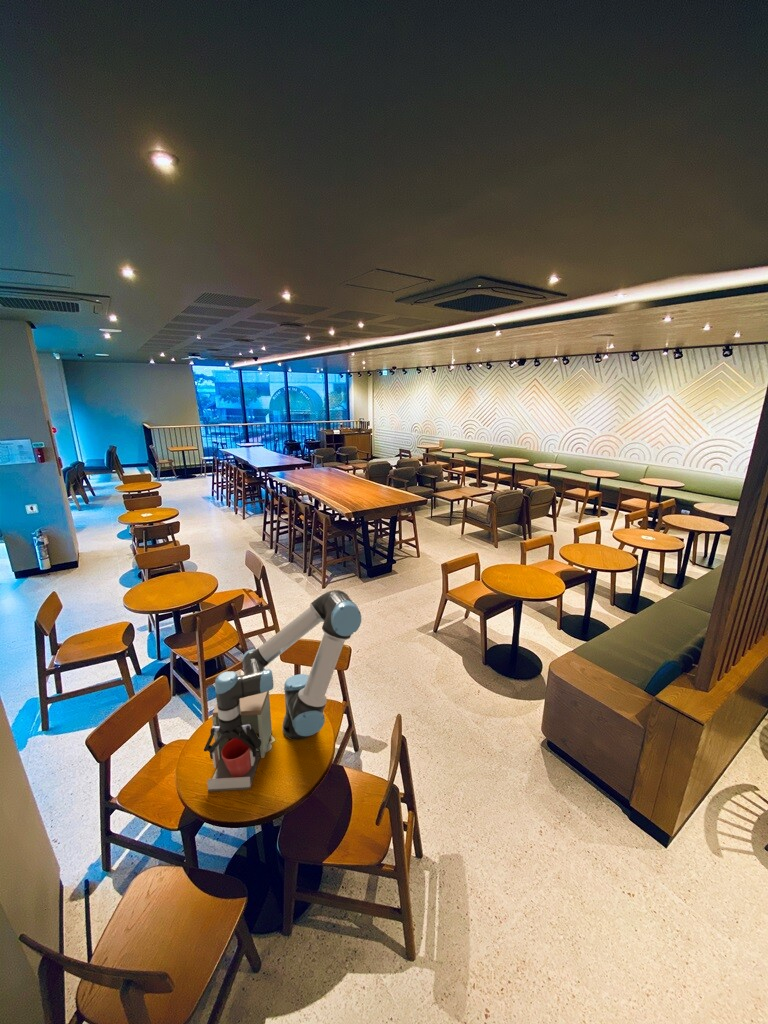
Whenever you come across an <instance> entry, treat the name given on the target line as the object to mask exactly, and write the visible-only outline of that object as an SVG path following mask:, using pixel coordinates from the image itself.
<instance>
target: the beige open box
mask: <svg viewBox="0 0 768 1024" xmlns="http://www.w3.org/2000/svg"><path fill="white" fill-rule="evenodd" d="M270 701H271V700H270V691H267V692H264V693H260V694H256V695H252V696H247V697H244V698H240V709H241V719H242V724H243V725H247V724H248V723H249V722H250V723H251V726H252V728H253V730H254V731H255V733H256V734H258V737H259V739H260V740H261V745H260V748H259V751H260V759H263V758H265V757H266V752H267V749H268V745H269V742H270V738H271V735H272V733H273V729H272V715H271V702H270ZM211 719H212V726H213V725H214V724H216V726H219V717H218V708H217V704H216V705H215V707H214V709H213V711H212V718H211ZM243 730H244V729H243ZM244 732H245V730H244ZM245 733H246V734H247V732H245ZM220 735H221V733H220V732H219V731H217V733H215V734H214V736H213V738H214V742H215V741H216V739H217V738H218V737H219V736H220ZM247 735H248V734H247ZM229 739H230V738H228V739H227V738H226V737H225V738H224V739H223V740H222V741H221V742H220V743H219V744H218V746H217V751H218V760H219V761H220V759H221V751H222V749H223V747H224V745H225V744H226V743H227V742H228V741H230V740H229Z"/></svg>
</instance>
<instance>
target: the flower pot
mask: <svg viewBox="0 0 768 1024" xmlns="http://www.w3.org/2000/svg"><path fill="white" fill-rule="evenodd" d="M250 750H251V749H250V748H249V747H248V746H247V745H246V744H245V743H244V742H243V741H241V740H239V739H237V738H230V740H228V742H227V743H226V744H225V745H224V747H223V749H222V751H221V755H222V758H223V760H224V762H225V764H226V767H227V769H228V771H229V772H230V774H231V776H233V777H242V776H244V775H245V774H247V773H248V771H249V770H250V769H251V759H250Z"/></svg>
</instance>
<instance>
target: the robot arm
mask: <svg viewBox="0 0 768 1024" xmlns="http://www.w3.org/2000/svg"><path fill="white" fill-rule="evenodd" d="M320 623H323V624H322V627H321V629H322V633H323V636H322V638H321V641H320V644H319V647H318V649H317V652H316V655H315V658H314V661H313V663H312V665H311V669H310V672H309V674H304V673H298V674H294V675H292V676H289V677H288V678H287V679H286V680H285V681H284V685H283V690H284V702H285V715H284V718H283V721H282V732H283V735H284V736H285V737H287V738H288V739H290V740H292V741H293V740H294V741H300V740H305V739H307V738H310V737H311V736H313V735H315V734H317V733H319V732H320V731H321V729H322V728H323V727H324V725H325V723H326V721H325V720H326V719H325V718H326V717H325V714H324V710H325V708H326V705H327V702H328V699H327V696H326V693H327V691H328V688H329V685H330V683H331V680H332V677H333V675H334V672H335V669H336V667H337V663H338V660H339V658H340V655H341V654H342V653H341V652H342V650H343V646H344V644H345V641H347V640H349V639H350V638H351V637H352V635H353V634H354V633H355V632H358V630H359V628H360V626H361V624H362V613H361V611H360V609H359V607H358V606H357V603H355V602H353V600H352V599H351V598H350V597H349V595H348V594H347V593H346V592H345V591H342V590H339V589H334V590H333V589H332V590H330V591H327V592H325V593H323V594H321V595H319V596H318V597H317V598H315V599H314V600H313V601H311V602H310V604H309V607H308V608H307V609H306V610H305V611H303V612H302V613H301V614H299V615H298V616H297V617H296V618H294V619H293V620H291V621H290V622H289V623H287V625H285V626H284V627H283V628H281V630H279V631H278V632H277V633H276V634H274V635H272V636H271V637H270V638H269V639H267V640H266V641H265V642H264V643H263V644H262V645H260V646H259V647H257V648H256V649H255V648H252V649H249V650H247V651H246V652H244V654H243V656H242V661H241V662H242V663H241V665H242V666H241V667H242V668H243V674H242V675H238V674H237V672H236V671H233V670H231V671H230V670H228V671H224V672H221V673H220V674H218V676H217V675H216V677H215V681H214V685H215V687H214V688H215V697H216V698H215V700H216V705H217V708H218V717H219V726H216V724H214V725H213V724H212V727H211V729H210V735H209V736H208V739H207V741H206V744H205V746H204V749H203V751H204V752H209V757H210V760H212V761H213V762H212V764H213V768H214V769H217V767H218V764H219V762H220V760H218V751H217V746H218V744H219V743H220V742H221V741H222V740H223V739H224V738H225V737H226V738H227V739H228V738H229V739H233V738H237V739H239V740H241V741H243V742H244V743H245V744H246V745H247V746H248V747H249V748H250V749H251V750H250V759H251V766H253V765H254V762H255V757H256V754H257V751H258V749H259V750H260V745H261V740H260V739H259V735H257V734H256V733H255V731H254V730H253V728H252V726H251V723H250V722H249V723H248V724H247V725H243V724H242V719H241V709H240V698H244V697H247V696H252V695H256V694H260V693H264V692H267V691H269V692H270V691H272V690H273V689H274V677H273V672H272V670H271V669H269V668H268V669H266V668H265V667H267V666H268V665H269V664H270V663H271V662H273V661H274V660H275V659H276V658H278V657H279V656H280V655H282V654H283V653H284V652H286V651H287V650H288V649H290V647H291V646H293V645H295V644H296V642H298V641H299V640H300V639H302V638H303V637H304V636H305V635H306V634H308V633H309V632H310V631H311V630H313V629H314V628H315V627H317V626H318V625H319V624H320ZM243 729H244V730H245V732H247V734H246V733H245V732H244V730H243ZM217 731H219V732H220V733H221V735H220V736H219V737H218V738H217V739H216V741H215V740H214V742H213V743H212V741H213V738H214V734H215V733H217ZM211 743H212V744H211Z"/></svg>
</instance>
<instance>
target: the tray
mask: <svg viewBox="0 0 768 1024" xmlns="http://www.w3.org/2000/svg"><path fill="white" fill-rule="evenodd" d="M260 759H261V752H260V750H257V754H256V757H255V762H254V765H253V766H251V769H250V770H249V771H248V773H247V774H245V775H244V776H242V777H233V776H231V774H230V772H229V771H228V769H227V767H226V764H225V762H224V760H223V758H222V755H221V759H220V760H219V762H218V765H217V767H216V768H215V769H216V770H215V771H214V774H213V776H212V778H207V780H206V782H207V783H206V784H207V791H208V792H225V791H226V792H227V791H243V790H251V788H252V785H253V782H254V777H255V776H256V771H257V768H258V764H259V762H260Z"/></svg>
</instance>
